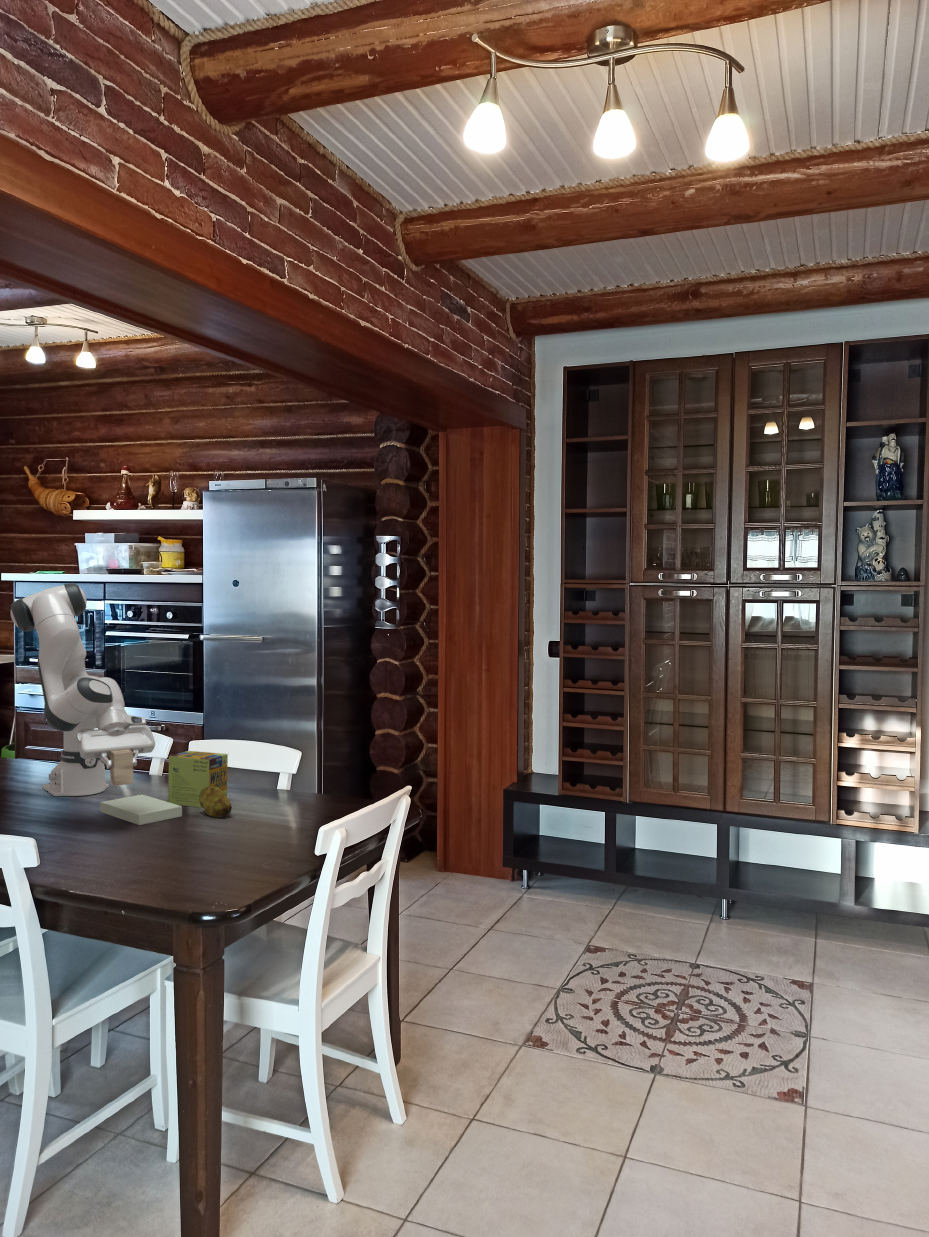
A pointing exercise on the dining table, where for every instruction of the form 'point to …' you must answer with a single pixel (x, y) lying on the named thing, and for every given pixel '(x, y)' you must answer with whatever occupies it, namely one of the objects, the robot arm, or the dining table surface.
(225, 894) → the dining table surface
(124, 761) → the birch block
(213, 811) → the potato
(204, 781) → the protein box
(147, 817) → the green board
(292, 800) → the dining table surface
